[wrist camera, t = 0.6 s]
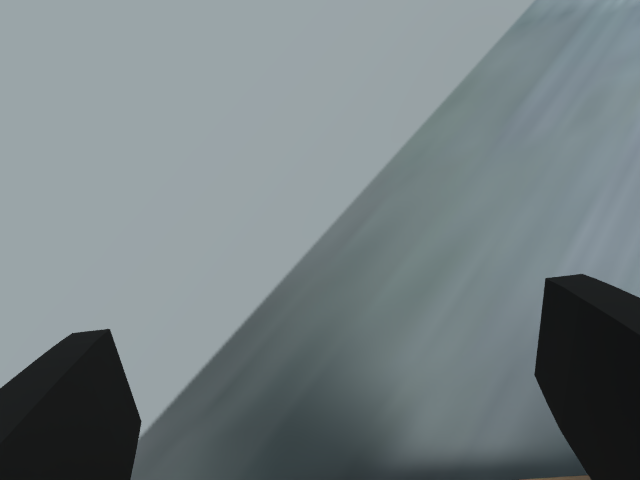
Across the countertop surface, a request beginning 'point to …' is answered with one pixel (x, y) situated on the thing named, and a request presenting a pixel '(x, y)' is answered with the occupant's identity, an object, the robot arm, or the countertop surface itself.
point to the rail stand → (564, 478)
